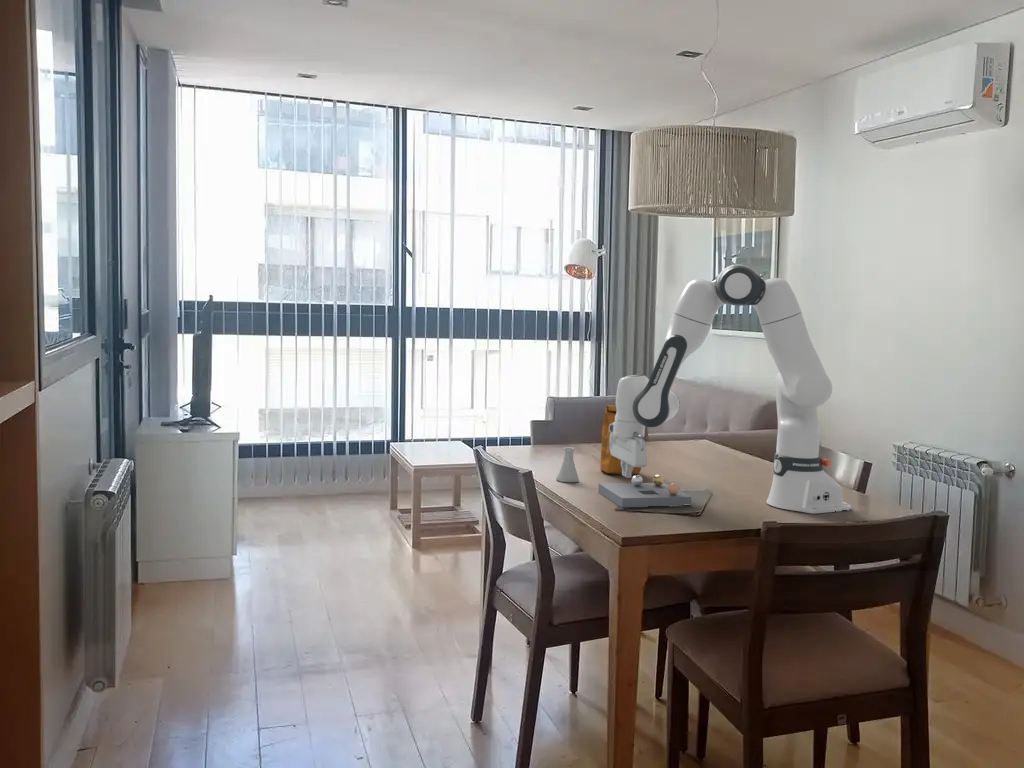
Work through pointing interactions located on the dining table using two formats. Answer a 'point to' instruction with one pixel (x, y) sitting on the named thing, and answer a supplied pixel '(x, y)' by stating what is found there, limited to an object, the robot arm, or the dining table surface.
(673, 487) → the terracotta ball
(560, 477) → the flask
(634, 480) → the steel ball
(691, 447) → the dining table surface
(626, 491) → the seat plate
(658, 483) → the brass ball
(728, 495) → the dining table surface
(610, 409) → the coffee package
